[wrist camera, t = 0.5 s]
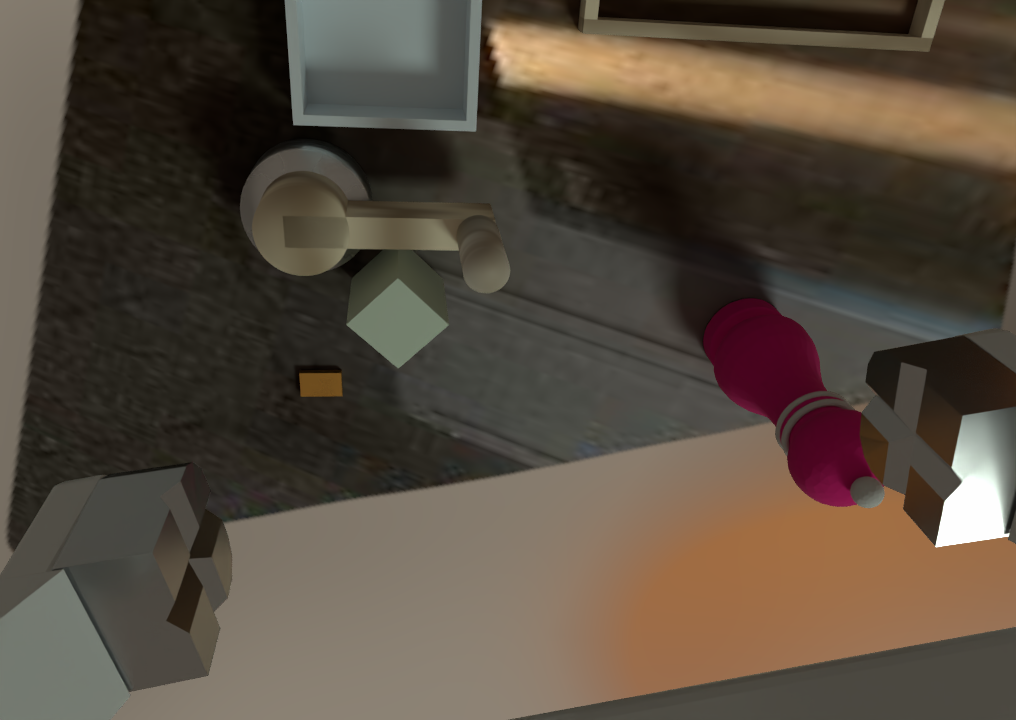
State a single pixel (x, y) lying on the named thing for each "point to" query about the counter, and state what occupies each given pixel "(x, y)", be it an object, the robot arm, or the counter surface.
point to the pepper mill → (792, 400)
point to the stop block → (397, 304)
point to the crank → (371, 229)
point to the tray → (384, 63)
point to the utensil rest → (768, 30)
